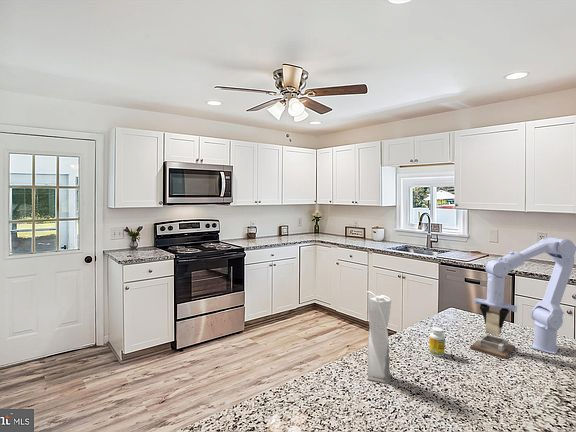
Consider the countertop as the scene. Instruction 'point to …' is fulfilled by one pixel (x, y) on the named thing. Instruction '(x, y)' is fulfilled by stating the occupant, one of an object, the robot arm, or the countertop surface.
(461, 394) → the countertop surface
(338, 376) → the countertop surface
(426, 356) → the countertop surface
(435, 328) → the supplement bottle
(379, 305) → the skyscraper
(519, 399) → the countertop surface
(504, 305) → the robot arm
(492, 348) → the socket board
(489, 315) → the birch peg
